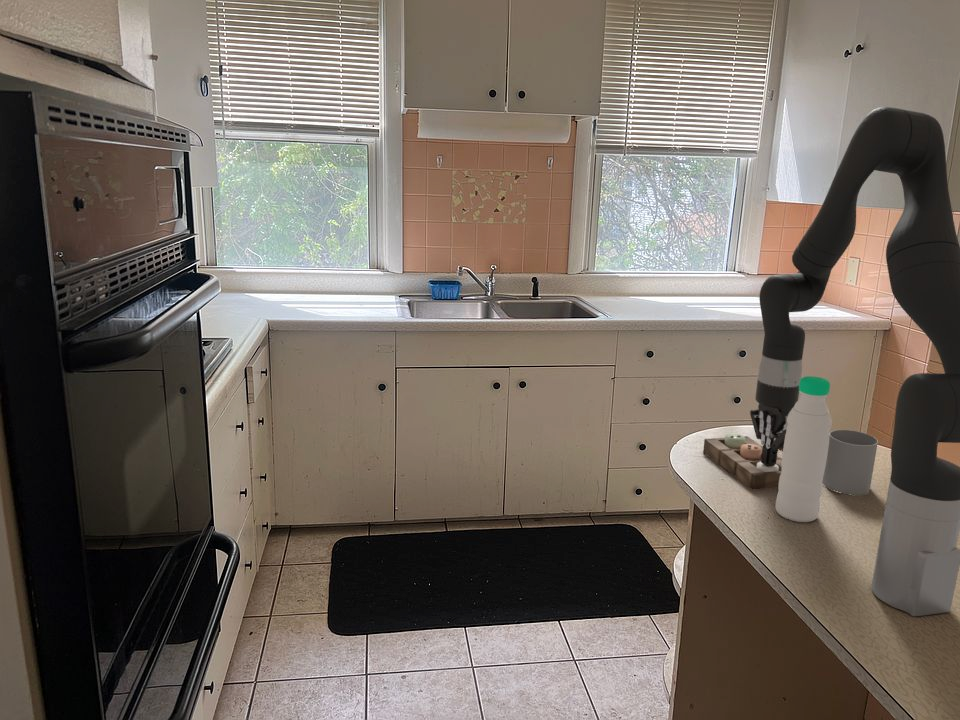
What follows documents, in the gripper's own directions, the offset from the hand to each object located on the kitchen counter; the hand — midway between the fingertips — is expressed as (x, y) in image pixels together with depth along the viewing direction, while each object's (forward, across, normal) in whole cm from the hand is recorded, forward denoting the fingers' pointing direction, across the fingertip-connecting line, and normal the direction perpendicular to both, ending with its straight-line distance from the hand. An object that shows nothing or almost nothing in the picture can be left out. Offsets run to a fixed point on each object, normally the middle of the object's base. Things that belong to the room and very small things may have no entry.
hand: (768, 464), depth 145 cm
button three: (+2, +6, 0) cm, 6 cm away
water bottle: (+3, -14, +3) cm, 15 cm away
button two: (+2, +12, 0) cm, 12 cm away
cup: (+4, -5, -14) cm, 15 cm away
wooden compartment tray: (+3, +6, 0) cm, 7 cm away
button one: (+3, 0, 0) cm, 3 cm away
